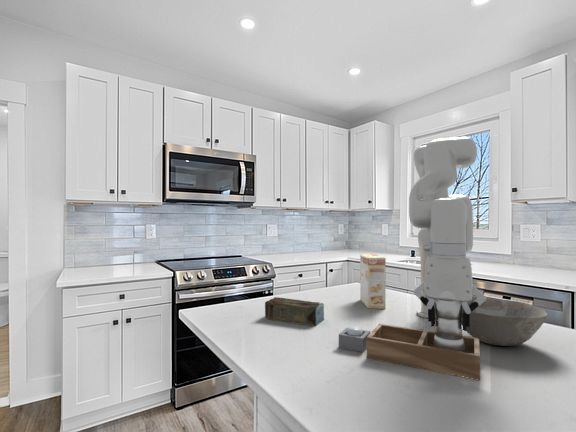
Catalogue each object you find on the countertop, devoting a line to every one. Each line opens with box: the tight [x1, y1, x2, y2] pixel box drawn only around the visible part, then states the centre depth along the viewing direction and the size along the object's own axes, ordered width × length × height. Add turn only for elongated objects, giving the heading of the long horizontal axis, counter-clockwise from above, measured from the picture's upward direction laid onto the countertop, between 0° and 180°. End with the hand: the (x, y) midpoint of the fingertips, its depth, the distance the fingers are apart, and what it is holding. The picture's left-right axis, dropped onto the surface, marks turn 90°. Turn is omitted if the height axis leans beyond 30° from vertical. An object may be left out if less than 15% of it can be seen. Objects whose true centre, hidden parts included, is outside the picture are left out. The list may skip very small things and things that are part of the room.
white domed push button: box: [346, 325, 363, 337], centre depth 90 cm, size 4×4×2 cm
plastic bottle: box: [433, 290, 465, 352], centre depth 79 cm, size 6×7×20 cm
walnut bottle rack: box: [366, 323, 481, 381], centre depth 82 cm, size 12×24×5 cm, turn 61°
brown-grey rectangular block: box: [264, 296, 325, 327], centre depth 114 cm, size 8×19×7 cm, turn 64°
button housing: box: [338, 327, 371, 353], centre depth 90 cm, size 7×7×4 cm
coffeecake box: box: [359, 253, 387, 310], centre depth 136 cm, size 15×7×20 cm, turn 179°
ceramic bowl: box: [461, 296, 548, 347], centre depth 93 cm, size 22×23×10 cm
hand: (448, 326), depth 79 cm, fingers closed on plastic bottle, 6 cm apart
